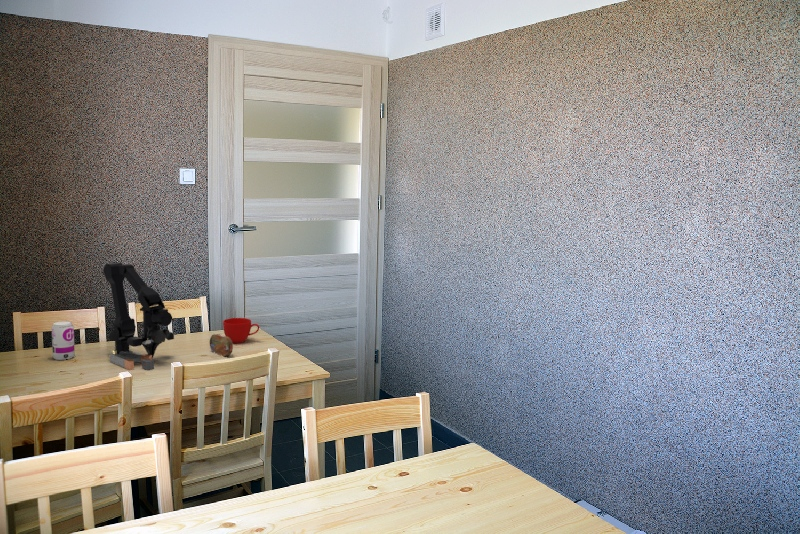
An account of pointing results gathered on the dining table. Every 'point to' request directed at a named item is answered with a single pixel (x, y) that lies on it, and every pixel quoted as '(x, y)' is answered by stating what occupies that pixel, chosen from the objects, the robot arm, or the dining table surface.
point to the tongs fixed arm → (121, 360)
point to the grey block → (147, 364)
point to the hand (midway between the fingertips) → (151, 358)
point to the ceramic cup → (238, 329)
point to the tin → (221, 344)
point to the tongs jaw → (135, 356)
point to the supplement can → (63, 340)
